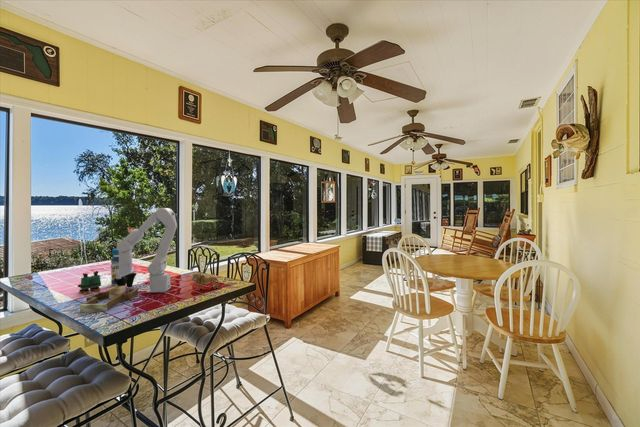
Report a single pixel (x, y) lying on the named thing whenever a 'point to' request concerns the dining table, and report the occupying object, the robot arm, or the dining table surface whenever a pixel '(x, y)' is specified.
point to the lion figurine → (205, 280)
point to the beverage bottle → (114, 265)
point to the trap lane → (94, 299)
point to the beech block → (116, 291)
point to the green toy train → (90, 283)
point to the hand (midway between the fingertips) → (125, 289)
